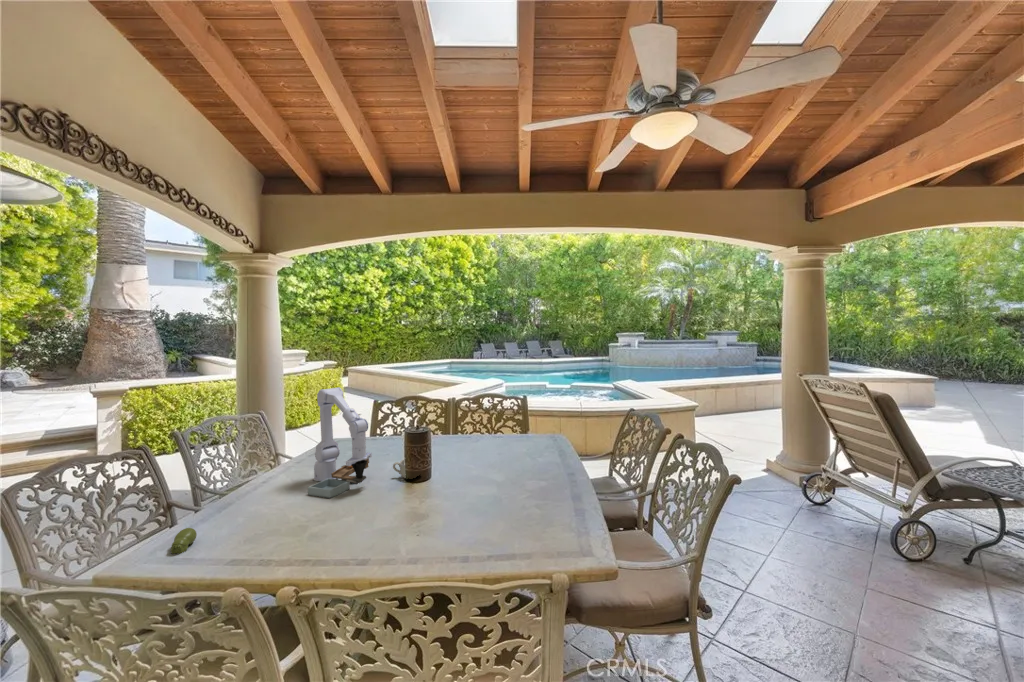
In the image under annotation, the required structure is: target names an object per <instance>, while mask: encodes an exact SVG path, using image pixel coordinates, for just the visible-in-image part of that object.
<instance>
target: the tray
mask: <svg viewBox="0 0 1024 682" xmlns="http://www.w3.org/2000/svg"><path fill="white" fill-rule="evenodd" d="M350 484H351V483H350V481H345V480H342V479H339V478H337V479H331V478H328V479H325V480H323V481H317V482H316V483H314V484H311V485H309V486H308V487H307V495H308V496H311V495H312V496H313V497H317V496H319V498H323V497H324V499H329V498H330V499H332V498H334V497H336V496H338V495H340V494H342V493H344V492H346V491H348V489H349V490H350V487H351V485H350Z"/></svg>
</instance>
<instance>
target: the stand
mask: <svg viewBox="0 0 1024 682" xmlns="http://www.w3.org/2000/svg"><path fill="white" fill-rule="evenodd" d="M345 465H346V464H344V465H341V466H340V468H341V467H343V466H345ZM355 477H357V476H356V475H355ZM341 480H345V481H350V484H352V483H353V485H358V483H359V484H360V482H356V481H353V480H347V479H341ZM361 483H362V481H361Z"/></svg>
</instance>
